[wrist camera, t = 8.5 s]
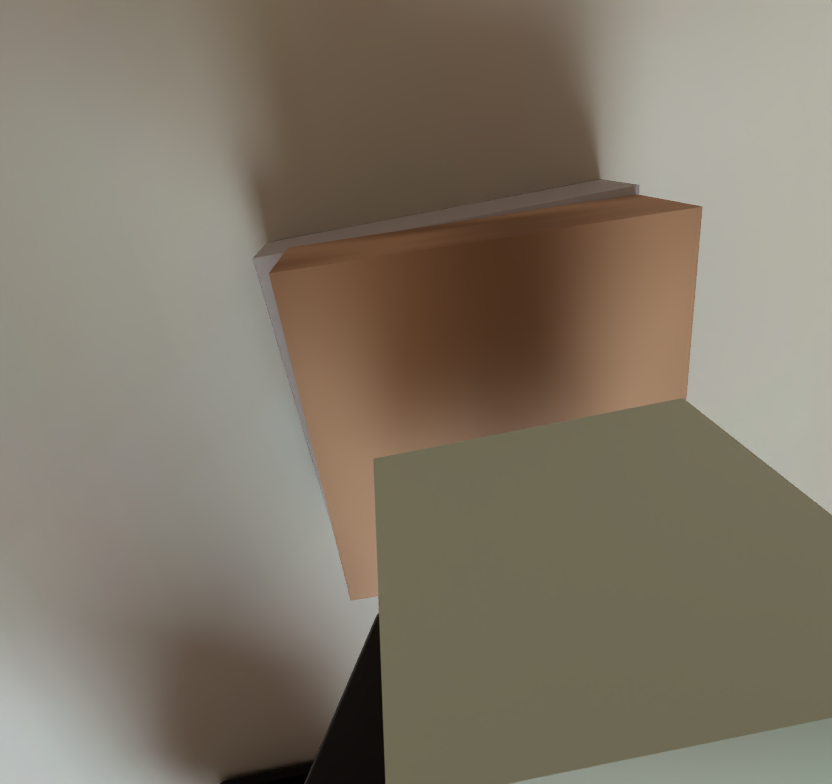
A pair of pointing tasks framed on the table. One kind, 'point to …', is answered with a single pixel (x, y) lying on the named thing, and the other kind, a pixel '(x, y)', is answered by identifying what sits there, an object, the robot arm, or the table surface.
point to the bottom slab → (449, 215)
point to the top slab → (480, 336)
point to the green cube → (603, 608)
